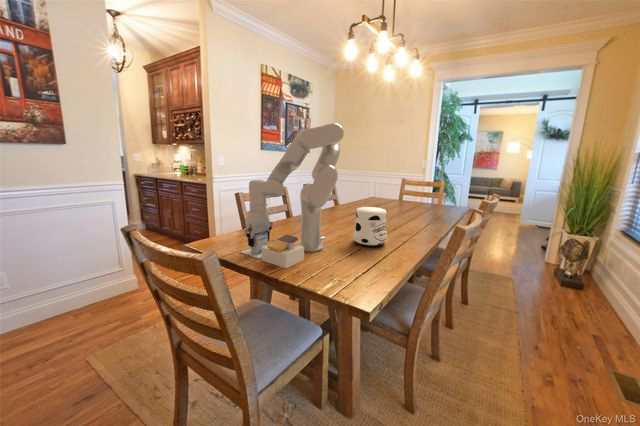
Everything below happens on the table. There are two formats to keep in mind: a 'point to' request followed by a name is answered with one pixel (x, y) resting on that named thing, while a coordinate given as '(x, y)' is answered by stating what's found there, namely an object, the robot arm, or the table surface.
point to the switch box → (283, 255)
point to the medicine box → (259, 242)
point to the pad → (248, 252)
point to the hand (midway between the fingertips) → (259, 243)
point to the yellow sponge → (282, 242)
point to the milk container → (370, 226)
